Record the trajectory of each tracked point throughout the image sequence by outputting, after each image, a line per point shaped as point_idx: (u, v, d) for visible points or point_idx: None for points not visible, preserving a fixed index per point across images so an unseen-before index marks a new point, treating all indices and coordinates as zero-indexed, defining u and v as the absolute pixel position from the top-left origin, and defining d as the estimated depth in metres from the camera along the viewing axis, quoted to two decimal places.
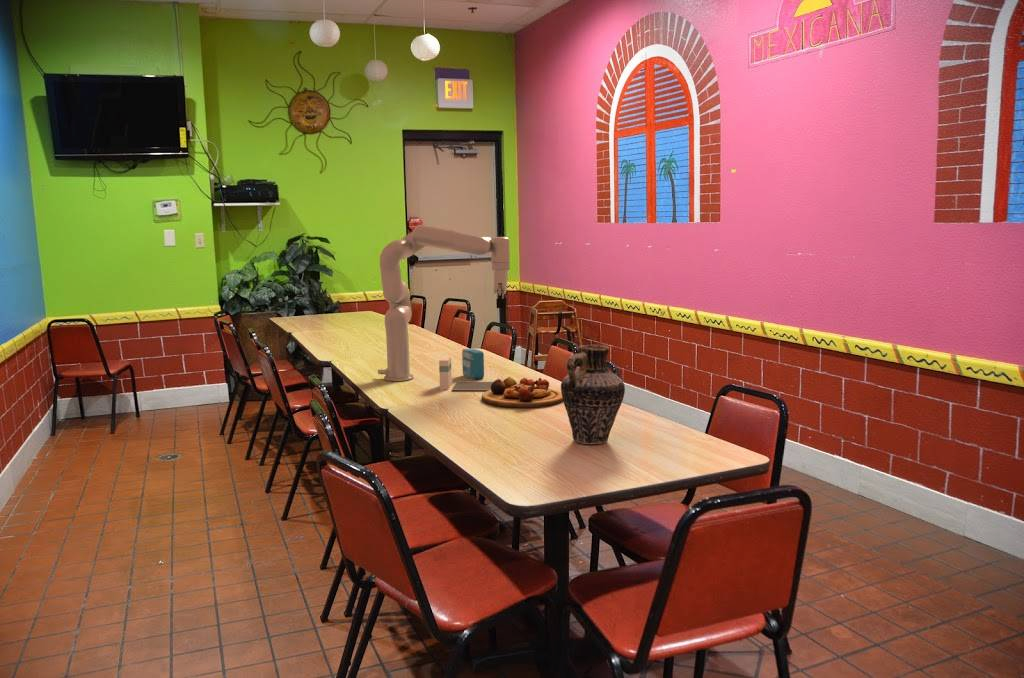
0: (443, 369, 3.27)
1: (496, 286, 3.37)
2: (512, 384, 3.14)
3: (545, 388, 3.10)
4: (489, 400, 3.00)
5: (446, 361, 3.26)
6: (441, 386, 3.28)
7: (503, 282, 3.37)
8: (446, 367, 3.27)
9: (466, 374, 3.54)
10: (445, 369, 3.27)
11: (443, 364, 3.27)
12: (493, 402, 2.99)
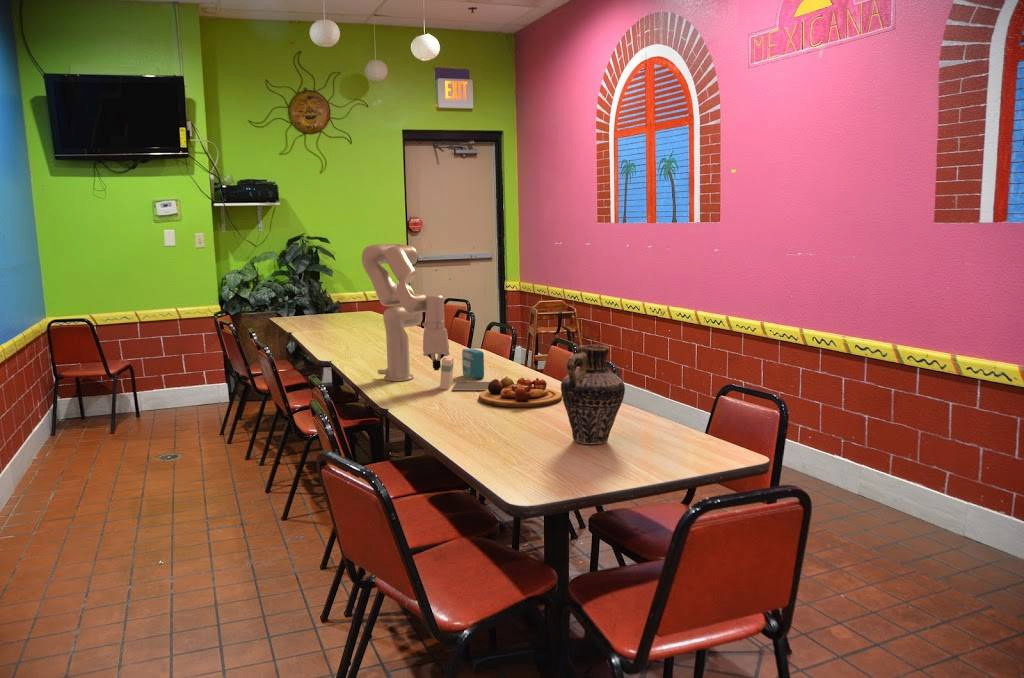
0: (445, 369, 3.27)
1: (447, 345, 3.28)
2: (509, 384, 3.14)
3: (542, 388, 3.10)
4: (486, 400, 3.01)
5: (449, 361, 3.26)
6: (441, 385, 3.28)
7: None
8: (448, 367, 3.27)
9: (466, 374, 3.54)
10: (447, 369, 3.27)
11: (445, 364, 3.27)
12: (490, 402, 2.99)
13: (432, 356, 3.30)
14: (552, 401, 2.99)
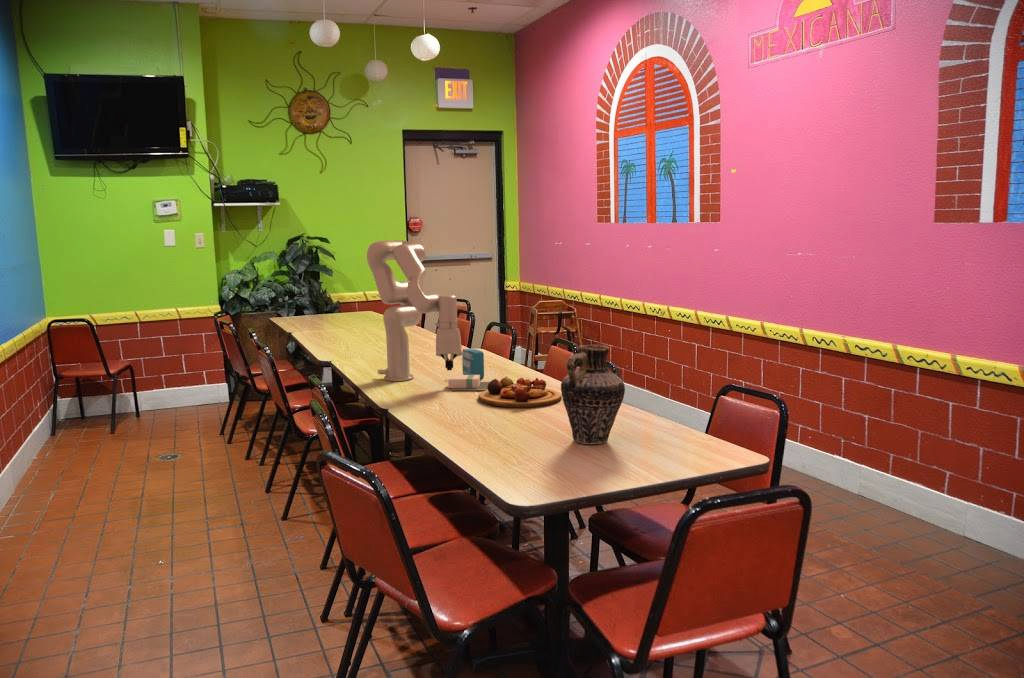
0: (468, 383, 3.27)
1: (460, 345, 3.28)
2: (509, 384, 3.14)
3: (542, 388, 3.11)
4: (485, 400, 3.01)
5: (476, 386, 3.27)
6: (451, 381, 3.28)
7: None
8: (470, 386, 3.27)
9: (466, 374, 3.54)
10: (468, 385, 3.27)
11: (473, 383, 3.27)
12: (489, 402, 2.99)
13: (445, 356, 3.29)
14: (551, 401, 2.99)
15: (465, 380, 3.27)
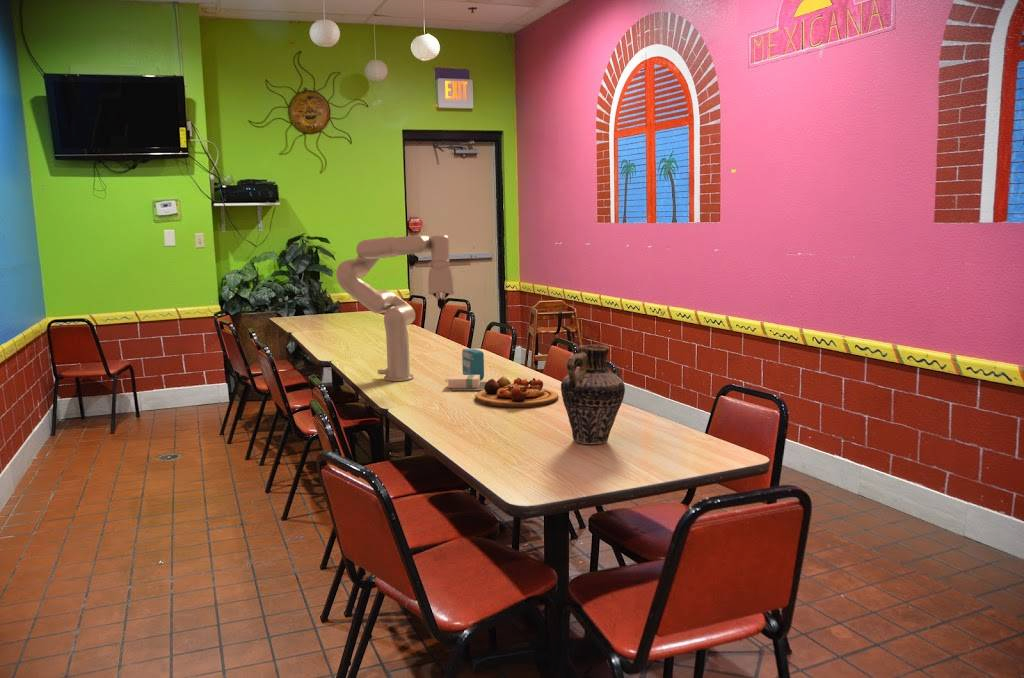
0: (468, 383, 3.27)
1: (452, 284, 3.38)
2: (506, 384, 3.15)
3: (539, 388, 3.11)
4: (482, 400, 3.01)
5: (476, 386, 3.27)
6: (451, 381, 3.28)
7: None
8: (470, 386, 3.27)
9: (466, 374, 3.54)
10: (468, 385, 3.27)
11: (473, 383, 3.27)
12: (486, 402, 2.99)
13: (437, 295, 3.39)
14: (548, 401, 2.99)
15: (465, 380, 3.27)
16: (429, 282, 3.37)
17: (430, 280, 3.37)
